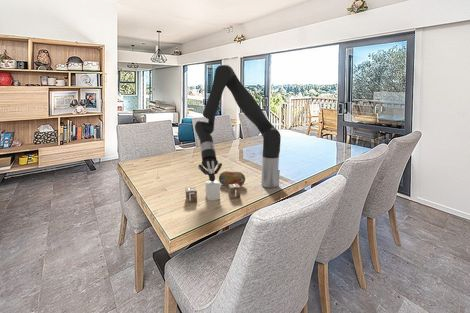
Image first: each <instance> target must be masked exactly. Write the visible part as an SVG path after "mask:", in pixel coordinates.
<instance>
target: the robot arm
mask: <svg viewBox="0 0 470 313" xmlns="http://www.w3.org/2000/svg"><path fill="white" fill-rule="evenodd" d="M225 88H227V89H228V91H230V94H232V97H233V99H234V101H235V103H236V105H237V106H238V108H239V109H240V110H241V111H242V113H243V114H244V115H245V117H246V118H247V119H248V120H249V121H250V122H251V123H252V124H253V125H254V126H256V128H257V129H258V132H259V133H260V134H261V136H262V138H263V139H262V140H263V142H262V143H263V145H262V161H261V162H262V164H261V186H262V187H264V188H267V189H275V188H277V187H280V170H279V166H280V165H279V164H280V162H279V161H280V151H281V139H282V138H281V136H282V135H281V133H280V132H279V130H278V129H277V128H276V127H275V126H274V125H273V124H272V123H271V122H270V121H269V120H268V118H267V117H266V115H265V114H264V111H263V110H262V108H261V106H260V105H259V103H258V101H257V100H256V99H255V98H254V97H253V95H252V94H251V93H250V91H248V89H247V88H246V87H245V86H244V85H243V84H242V83H241V81H240V79H239V78H238V75H237V74H236V73H235V70H234V69H233V68H232V67H231V66H230V65H229V64H220V65H218V66H217V67H216V68H215V70H214V76H213V82H212V86H211V89H210V93H209V96H208V99H207V101H206V104H205V107H204V110H203V112H202V117H204V118H205V119H207V120H208V121H206V120H197V121H196V122H195V124H194V130H195V132H196V134H197V137H198V140H199V144H200V155H201V163H200V164H198V167H197V168H198V170H200V171H201V172H202V173H203V174H204V175H206V176H207V175H208V181H211V182H214V181H215V180H216V175H218V173H219V172H220V170H221V168H222V167H223V163H221V162H219V161H218V159H217V154H216V149H215V145H214V139H213V135H212V134H213V133H214V130H215V120H216V119H215V118H216V116H217V113H218V109H219V107H220V104H221V99H222V96H223V92H224V90H225ZM215 168H216V169H215Z"/></svg>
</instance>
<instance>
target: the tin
mask: <svg viewBox="0 0 470 313" xmlns="http://www.w3.org/2000/svg"><path fill="white" fill-rule="evenodd" d="M218 182H219V184H220V185H222V186H224V187H228V184H238V185H239V186H240V187H242V186H243V185H244V183H245V182H246V176H245V175H244V174H243V173H242V172H240V171H231V170H230V171H229V170H227V171H226V170H225V171H223V172H221V173H219V176H218Z"/></svg>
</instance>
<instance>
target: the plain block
mask: <svg viewBox="0 0 470 313" xmlns="http://www.w3.org/2000/svg"><path fill="white" fill-rule="evenodd" d="M205 197H206V199H207V201H215V200H220V199H221V183H220V181H219V180H217V179H215V180H214V182H211V181H210V180H208V181H207V180H205Z"/></svg>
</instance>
